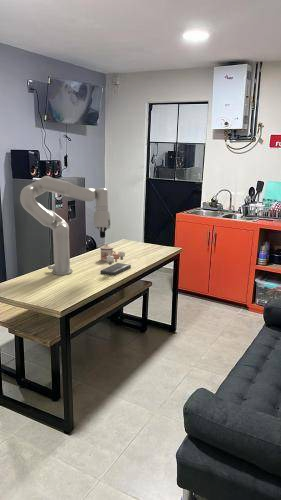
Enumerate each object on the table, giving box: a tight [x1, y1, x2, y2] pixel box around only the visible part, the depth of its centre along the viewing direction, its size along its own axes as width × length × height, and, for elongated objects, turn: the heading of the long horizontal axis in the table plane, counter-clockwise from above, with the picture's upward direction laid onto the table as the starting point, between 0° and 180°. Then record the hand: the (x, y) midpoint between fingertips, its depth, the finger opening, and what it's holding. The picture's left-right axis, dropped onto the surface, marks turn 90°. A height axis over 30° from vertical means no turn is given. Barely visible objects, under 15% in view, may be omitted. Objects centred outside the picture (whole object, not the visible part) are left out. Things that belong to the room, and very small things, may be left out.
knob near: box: [106, 256, 115, 266], centre depth 237 cm, size 4×4×5 cm
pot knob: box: [113, 252, 120, 263], centre depth 243 cm, size 4×4×5 cm
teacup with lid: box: [100, 243, 117, 262], centre depth 269 cm, size 12×9×12 cm
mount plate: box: [100, 262, 132, 277], centre depth 245 cm, size 21×10×2 cm, turn 152°
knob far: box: [117, 250, 126, 261], centre depth 249 cm, size 4×4×5 cm
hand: (102, 237), depth 239 cm, fingers closed
